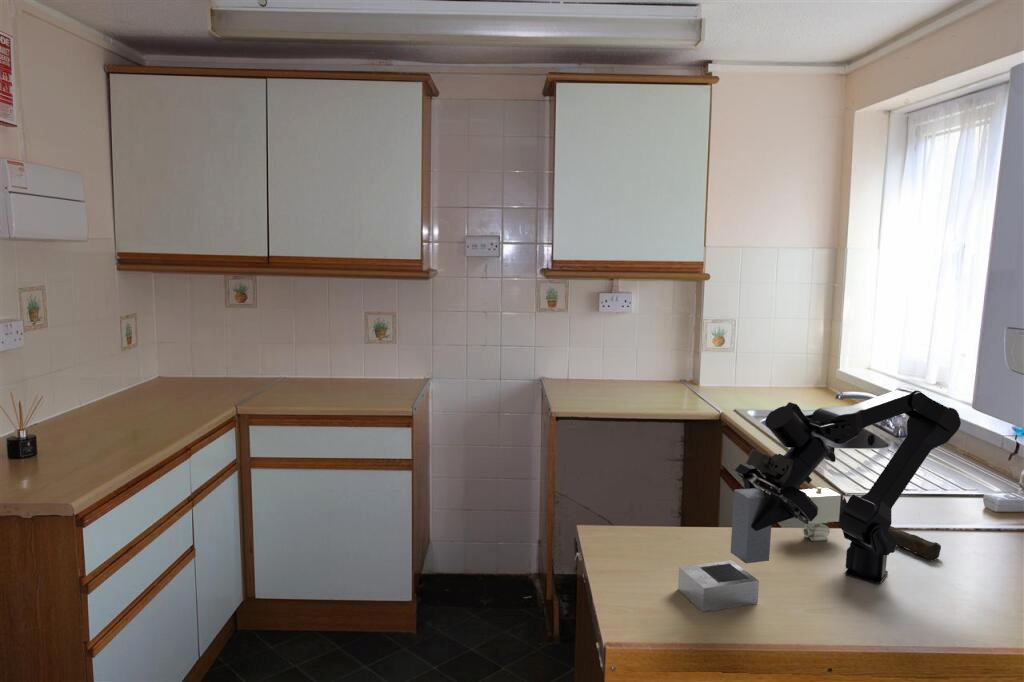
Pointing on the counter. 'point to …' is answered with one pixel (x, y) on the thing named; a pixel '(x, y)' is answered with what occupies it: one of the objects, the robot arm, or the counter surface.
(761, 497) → the peg
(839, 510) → the pneumatic valve
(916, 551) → the hand tool
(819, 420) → the robot arm
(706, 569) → the block with rectangular hole
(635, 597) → the counter surface
